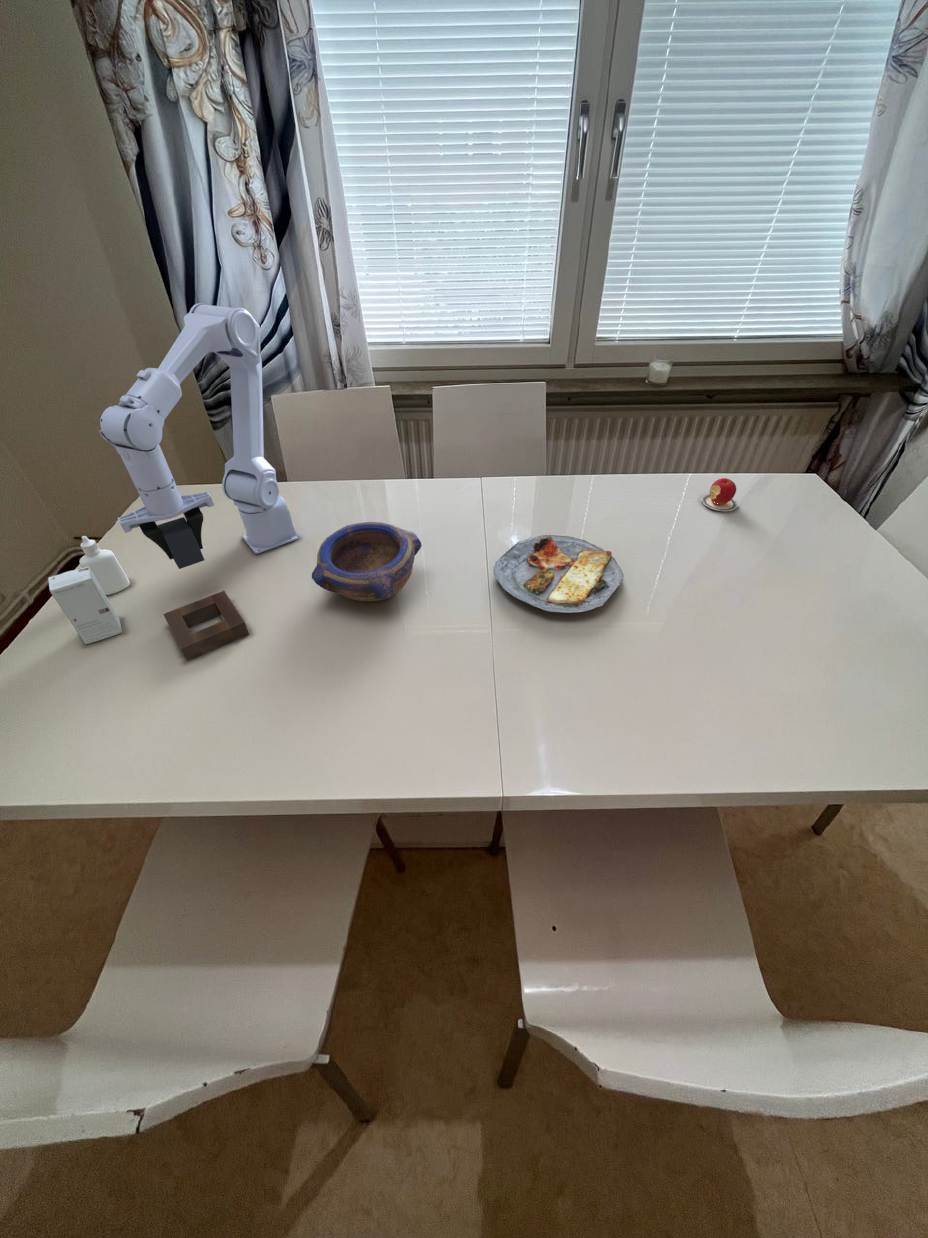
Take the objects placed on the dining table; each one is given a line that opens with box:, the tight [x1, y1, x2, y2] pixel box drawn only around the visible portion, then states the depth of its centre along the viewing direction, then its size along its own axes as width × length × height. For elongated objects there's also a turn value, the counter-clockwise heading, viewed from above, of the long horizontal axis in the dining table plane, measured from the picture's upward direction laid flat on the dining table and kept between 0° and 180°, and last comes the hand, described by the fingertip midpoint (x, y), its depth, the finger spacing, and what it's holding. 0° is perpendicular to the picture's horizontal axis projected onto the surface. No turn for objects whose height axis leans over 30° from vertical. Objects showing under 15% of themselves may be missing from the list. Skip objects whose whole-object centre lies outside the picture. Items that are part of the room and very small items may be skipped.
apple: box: [701, 477, 738, 512], centre depth 121 cm, size 8×8×6 cm
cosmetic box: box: [47, 567, 123, 645], centre depth 87 cm, size 6×4×12 cm
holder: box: [162, 590, 250, 662], centre depth 91 cm, size 11×11×3 cm
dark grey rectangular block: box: [157, 516, 205, 570], centre depth 92 cm, size 4×4×7 cm
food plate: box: [492, 534, 624, 614], centre depth 101 cm, size 25×23×4 cm
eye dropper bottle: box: [79, 535, 131, 596], centre depth 96 cm, size 4×6×12 cm
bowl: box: [311, 521, 422, 602], centre depth 97 cm, size 18×18×10 cm
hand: (185, 551), depth 93 cm, fingers closed on dark grey rectangular block, 4 cm apart
